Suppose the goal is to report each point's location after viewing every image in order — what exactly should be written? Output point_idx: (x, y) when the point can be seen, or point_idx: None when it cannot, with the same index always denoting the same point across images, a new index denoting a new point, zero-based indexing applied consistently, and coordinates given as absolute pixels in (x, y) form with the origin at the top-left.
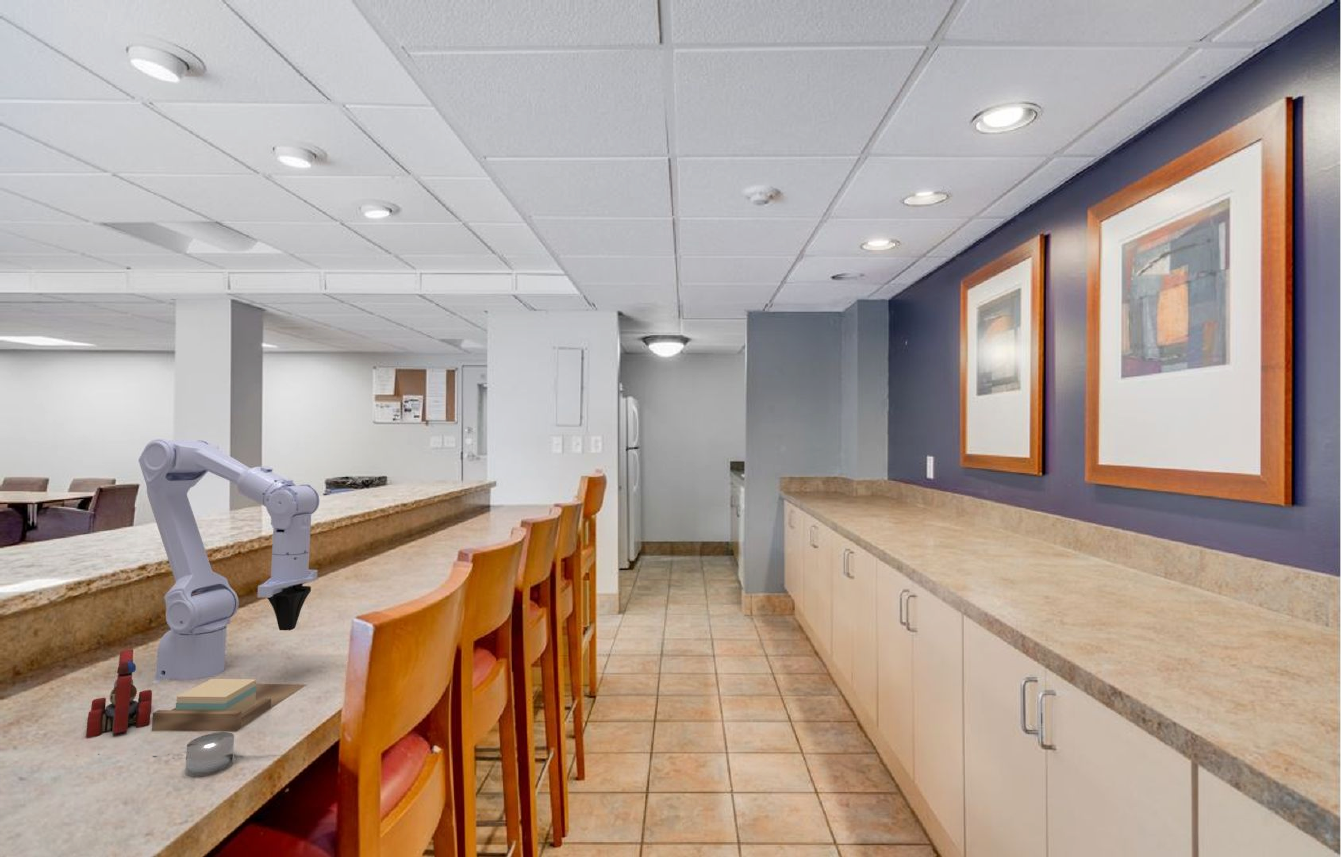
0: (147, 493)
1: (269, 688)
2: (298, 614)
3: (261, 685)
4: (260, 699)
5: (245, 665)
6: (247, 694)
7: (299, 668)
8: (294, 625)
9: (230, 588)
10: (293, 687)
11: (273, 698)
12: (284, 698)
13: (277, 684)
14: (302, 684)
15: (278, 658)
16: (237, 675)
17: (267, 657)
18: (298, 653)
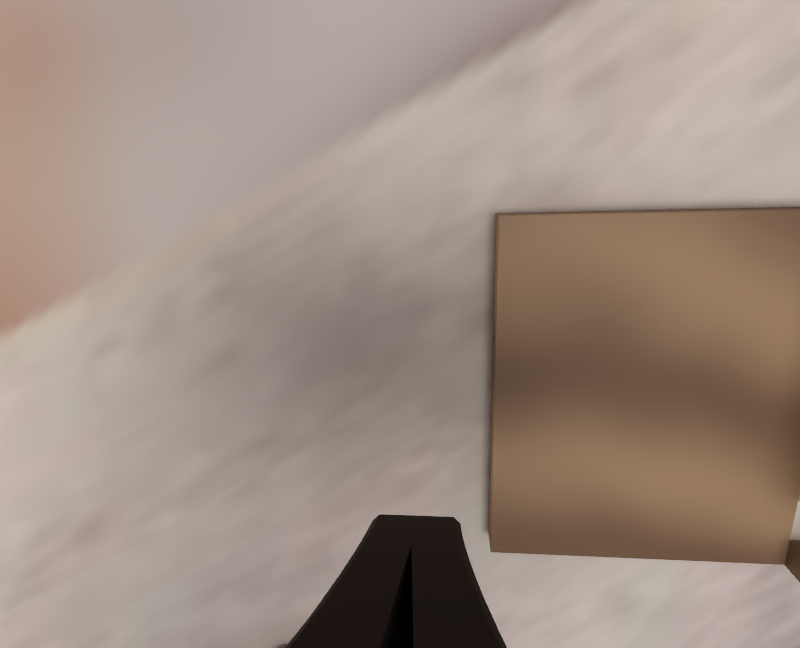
0: None
1: (555, 378)
2: (346, 612)
3: (514, 437)
4: (713, 336)
5: (211, 644)
6: None
7: (205, 416)
8: (405, 531)
9: None
10: (546, 262)
11: (706, 277)
12: (712, 218)
13: (500, 370)
14: (501, 239)
15: (106, 569)
16: None
17: (105, 615)
18: (26, 523)
